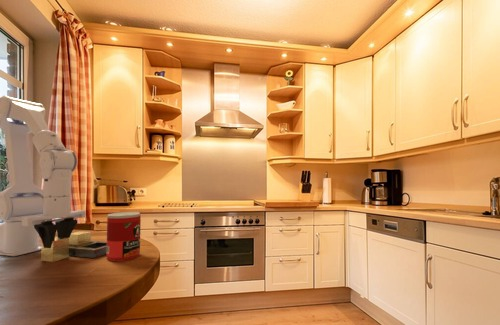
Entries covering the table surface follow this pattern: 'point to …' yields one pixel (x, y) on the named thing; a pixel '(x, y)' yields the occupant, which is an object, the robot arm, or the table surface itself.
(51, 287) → the table surface
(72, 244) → the grey open box
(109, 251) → the canned food
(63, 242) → the honey wood cube
